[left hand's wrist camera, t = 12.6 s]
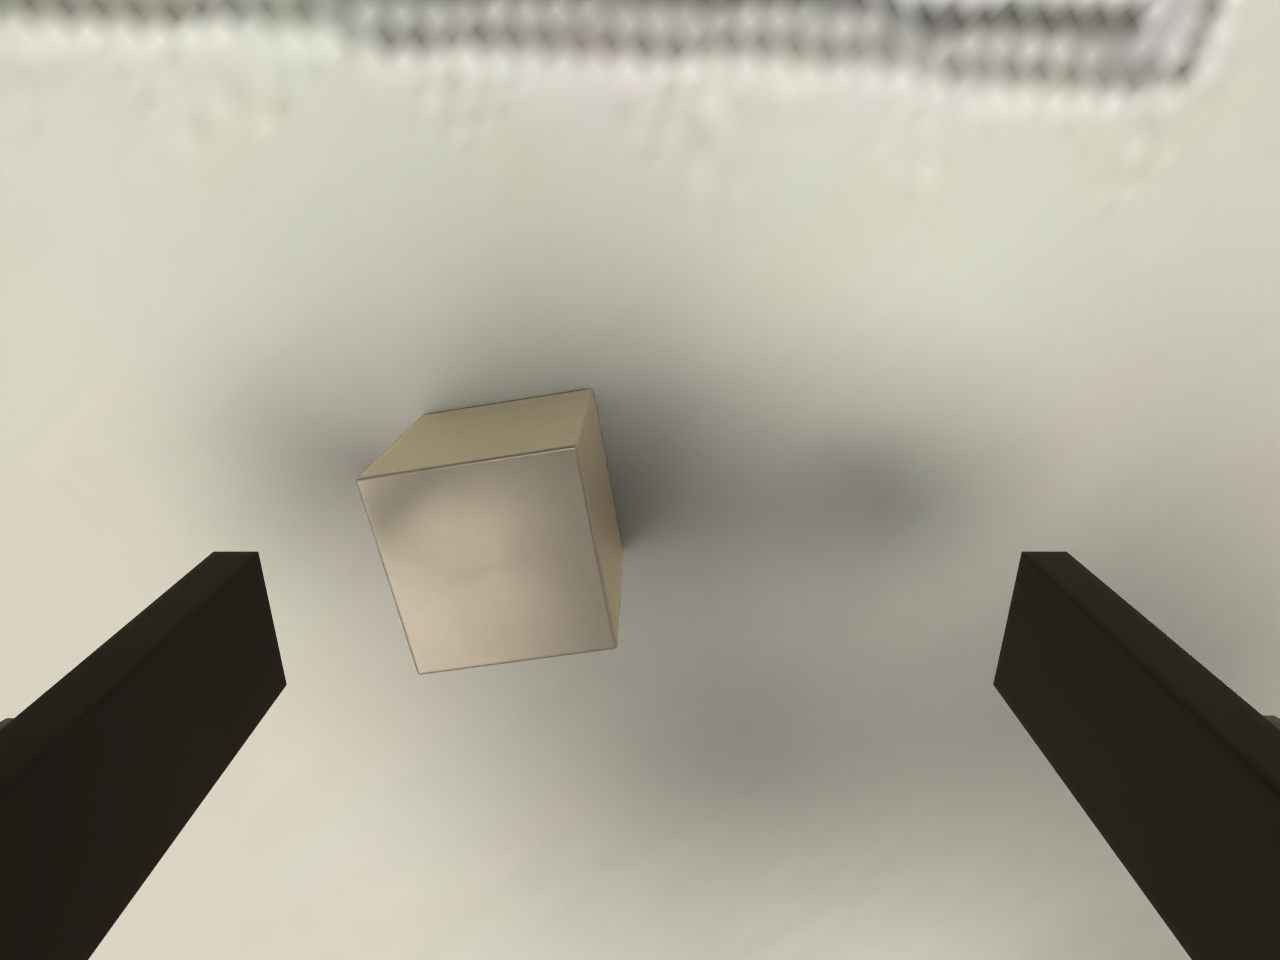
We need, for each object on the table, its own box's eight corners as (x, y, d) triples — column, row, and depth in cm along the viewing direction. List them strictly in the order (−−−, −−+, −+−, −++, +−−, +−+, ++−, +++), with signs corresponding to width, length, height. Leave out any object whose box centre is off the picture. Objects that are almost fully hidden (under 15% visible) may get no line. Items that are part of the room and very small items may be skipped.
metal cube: (593, 387, 19) (577, 445, 15) (623, 552, 21) (617, 649, 17) (422, 414, 20) (353, 478, 15) (466, 574, 21) (417, 676, 17)
